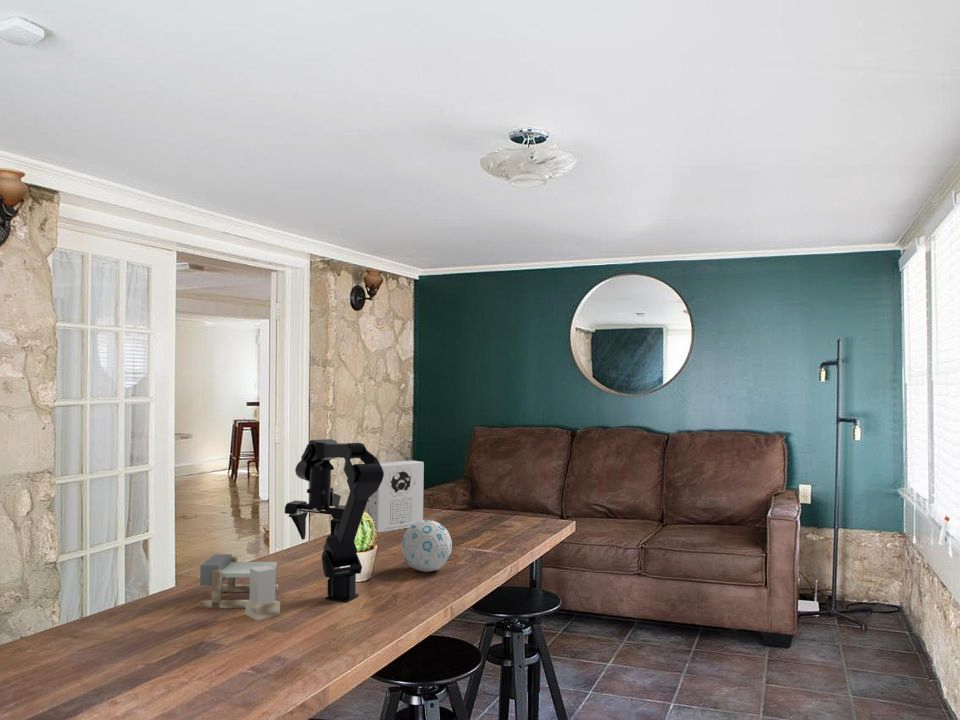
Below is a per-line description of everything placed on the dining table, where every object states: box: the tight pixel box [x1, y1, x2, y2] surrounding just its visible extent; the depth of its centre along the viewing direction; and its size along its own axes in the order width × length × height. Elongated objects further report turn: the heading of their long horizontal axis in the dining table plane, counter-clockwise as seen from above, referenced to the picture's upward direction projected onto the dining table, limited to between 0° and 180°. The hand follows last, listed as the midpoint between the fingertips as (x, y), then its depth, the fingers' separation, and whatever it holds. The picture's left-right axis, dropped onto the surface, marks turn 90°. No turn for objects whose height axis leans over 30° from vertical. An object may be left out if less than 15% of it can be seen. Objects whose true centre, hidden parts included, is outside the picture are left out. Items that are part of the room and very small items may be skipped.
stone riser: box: [244, 599, 281, 621], centre depth 186 cm, size 6×6×3 cm
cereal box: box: [365, 459, 425, 534], centre depth 296 cm, size 22×8×25 cm, turn 133°
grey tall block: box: [248, 565, 277, 606], centre depth 186 cm, size 4×4×8 cm
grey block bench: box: [198, 556, 279, 609], centre depth 200 cm, size 16×16×9 cm
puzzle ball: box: [401, 519, 453, 573], centre depth 231 cm, size 15×15×15 cm
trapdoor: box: [199, 553, 278, 586], centre depth 200 cm, size 16×12×5 cm
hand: (318, 541), depth 213 cm, fingers open, 9 cm apart
